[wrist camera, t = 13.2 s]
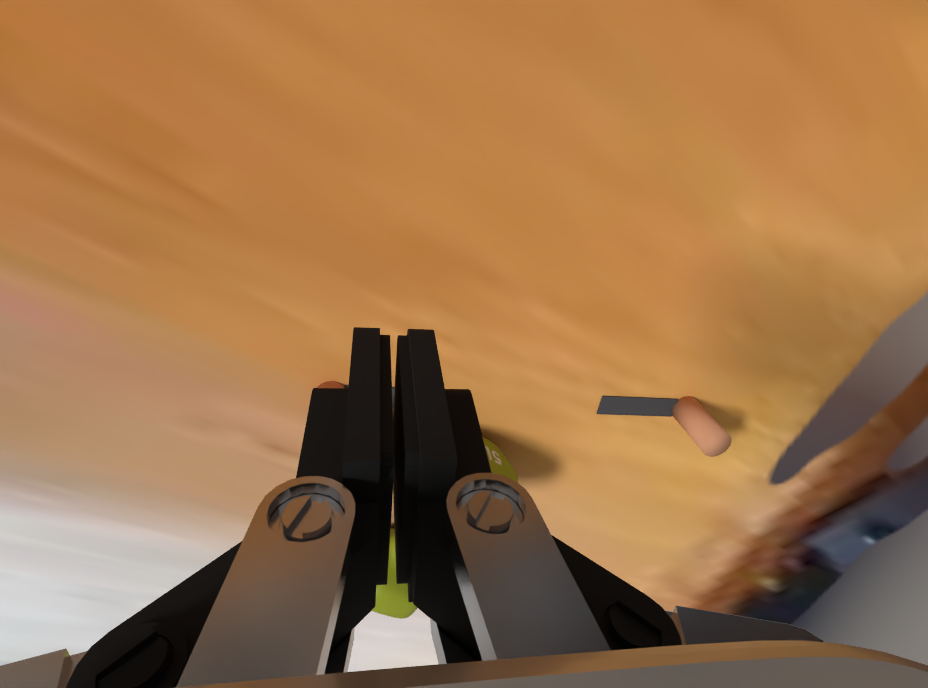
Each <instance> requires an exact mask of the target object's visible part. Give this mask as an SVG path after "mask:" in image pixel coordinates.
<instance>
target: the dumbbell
mask: <svg viewBox="0 0 928 688" xmlns="http://www.w3.org/2000/svg"><path fill="white" fill-rule="evenodd" d="M483 441H484V445H485V449H486V453H487V457H488V460H489V464H490V468H491V472H492V473H494V474H499V475H503V476H505V477H508V478H510V479H512V480H514V481H516V482H517V483H518V477H517V474H516V472H515V470H514V468H513V466H512V465H511V464H510V462H509V461H508V460H507V458H506V457H505V456H504V454H503V453H502V452H501V451H500V449H499V448H498V447H497V446H496V445H495V444H494V443H493V442H491V441H490V440H488V439H486V438H484V437H483ZM416 609H417V607H416V606H415V605H414V604H413V602H408V584H407V583H406V584H397V582H396V557H395V529H393V528H390V545H389V562H388V580H387V585H376V605H375V607H374V608H373V609H372V610H371V611H374V612H377V613H380V614H384V615H387V616H391V617H395V618H407V617H409V616H410V615H412V614H413V612H414V611H415V610H416Z"/></svg>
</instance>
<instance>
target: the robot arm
mask: <svg viewBox="0 0 928 688" xmlns="http://www.w3.org/2000/svg"><path fill="white" fill-rule="evenodd" d="M393 493H394V525H395V557H396V582H397V584H406V583H407V584H408V602H413V604H414V605H415V606H416V607H417V608H419V609H420V610H421V611H422V612H424V613H425V614H426V615H427V616H428V617H430V618H431V620H430V623H431V634H432V638H433V642H434V646H435V650H436V654H437V658H438V663H439V665H427V666H415V667H403V668H392V669H380V670H368V671H357V672H348V667H349V661H350V656H351V651H352V646H353V641H354V627H355V626H356V625H357V624H358V623H359V622H360V621H361V620H362V619H363V618H364V617H365V616H366V615H367V614H368V613H369V612H370V611H371V610H372V609H373V608H374V607H375V605H376V585H387V580H388V562H389V545H390V528H391V511H392V494H393ZM0 688H928V666H927V665H925V664H921V663H918V662H915V661H912V660H908V659H905V658H901V657H899V656H895V655H892V654H889V653H886V652H882V651H877V650H872V649H866V648H861V647H855V646H849V645H844V644H838V643H828V642H823V640H821V639H820V638H818V637H816V636H815V635H813V634H811V633H810V632H808V631H806V630H805V629H802V628H799V627H796V626H793V625H790V624H785V623H778V622H772V621H766V620H760V619H754V618H748V617H742V616H736V615H730V614H723V613H717V612H711V611H705V610H699V609H693V608H687V607H681V606H676V607H675V609H674V610H673V612H669V611H665V610H664V609H663V608H662V607H661V606H660V605H659V604H657V603H656V602H655V601H653V600H652V599H651V598H650V597H648V596H647V595H645V594H644V593H642V592H641V591H639V590H637V589H636V588H634V587H633V586H631V585H630V584H628V583H626V582H625V581H623V580H622V579H620V578H618V577H617V576H615V575H614V574H612V573H611V572H609V571H607V570H606V569H604V568H603V567H601V566H600V565H598V564H596V563H595V562H593V561H592V560H590V559H588V558H587V557H585V556H584V555H582V554H581V553H579V552H577V551H576V550H574V549H573V548H571V547H570V546H568V545H566V544H565V543H563V542H562V541H560V540H559V539H557V538H555V537H554V536H552V535H551V534H550V532H549V530H548V528H547V526H546V524H545V522H544V520H543V518H542V516H541V514H540V512H539V510H538V509H537V507H536V505H535V503H534V501H533V499H532V497H531V496H530V495H529V493H528V492H527V491H526V489H525V488H523V487H522V486H521V485H520V484H518V483H517V482H516V481H514V480H512V479H510V478H508V477H505V476H503V475H499V474H494V473H492V472H491V468H490V464H489V460H488V457H487V453H486V449H485V445H484V441H483V437H482V433H481V429H480V425H479V421H478V417H477V413H476V409H475V405H474V402H473V398H472V394H471V391H470V390H469V389H445V388H444V383H443V377H442V372H441V366H440V361H439V355H438V350H437V344H436V339H435V333H434V330H424V329H408V332H407V336H401V335H398V339H397V356H396V375H395V394H394V412H393V408H392V380H391V352H390V335H380V328H355V327H354V330H353V342H352V353H351V365H350V377H349V388H314V389H313V391H312V395H311V400H310V406H309V411H308V416H307V422H306V427H305V433H304V438H303V444H302V449H301V454H300V460H299V465H298V471H297V476H296V479H292V480H289V481H287V482H285V483H283V484H280V485H278V486H276V487H275V488H274V489H273V490H272V491H270V492H269V493H268V494H267V495H266V496H265V497H264V499H263V500H262V502H261V503H260V505H259V506H258V508H257V510H256V512H255V515H254V517H253V519H252V521H251V523H250V526H249V528H248V530H247V532H246V534H245V537H244V539H243V541H242V542H240V543H239V544H237V545H236V546H234V547H233V548H231V549H230V550H228V551H227V552H225V553H224V554H223V555H221V556H220V557H218V558H217V559H215V560H214V561H212V562H211V563H209V564H208V565H206V566H205V567H203V568H202V569H201V570H199V571H198V572H196V573H195V574H193V575H192V576H190V577H189V578H187V579H186V580H184V581H183V582H182V583H180V584H179V585H177V586H176V587H174V588H173V589H171V590H170V591H168V592H167V593H165V594H164V595H162V596H161V597H160V598H158V599H157V600H155V601H154V602H152V603H151V604H149V605H148V606H146V607H145V608H143V609H142V610H141V611H139V612H138V613H136V614H135V615H133V616H132V617H130V618H129V619H127V620H126V621H124V622H123V623H121V624H120V625H119V626H117V627H116V628H114V629H113V630H111V631H110V632H108V633H107V634H106V635H105V636H104V637H102V638H101V639H100V640H99V641H98V642H96V643H95V644H94V645H93V646H92V647H91V648H90V649H89V650H88V651H86V652H82V653H79V654H75V655H71V656H70V655H69V653H68V651H67V649H63V650H59V651H55V652H51V653H48V654H44V655H40V656H36V657H32V658H29V659H25V660H21V661H17V662H14V663H10V664H6V665H2V666H0Z"/></svg>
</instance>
